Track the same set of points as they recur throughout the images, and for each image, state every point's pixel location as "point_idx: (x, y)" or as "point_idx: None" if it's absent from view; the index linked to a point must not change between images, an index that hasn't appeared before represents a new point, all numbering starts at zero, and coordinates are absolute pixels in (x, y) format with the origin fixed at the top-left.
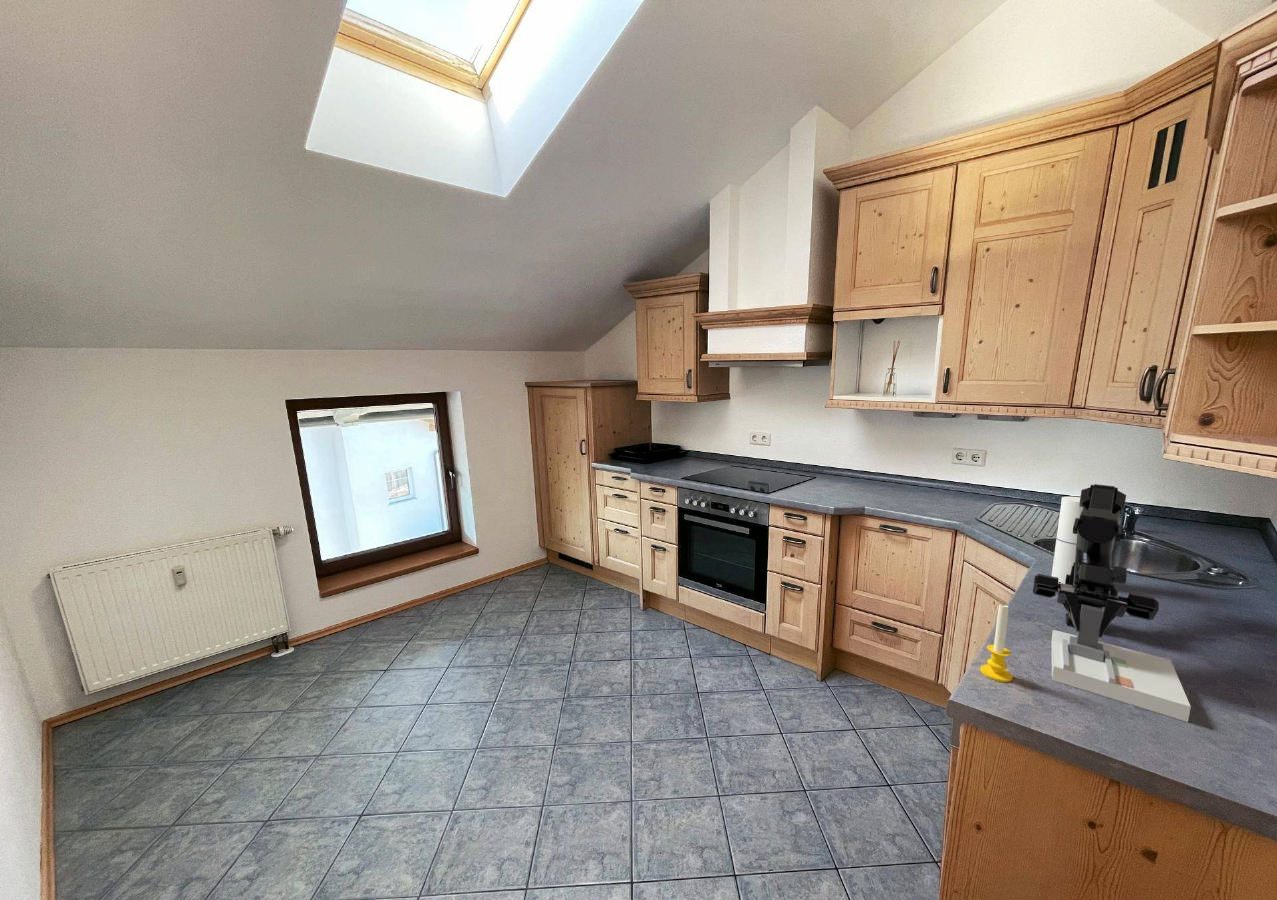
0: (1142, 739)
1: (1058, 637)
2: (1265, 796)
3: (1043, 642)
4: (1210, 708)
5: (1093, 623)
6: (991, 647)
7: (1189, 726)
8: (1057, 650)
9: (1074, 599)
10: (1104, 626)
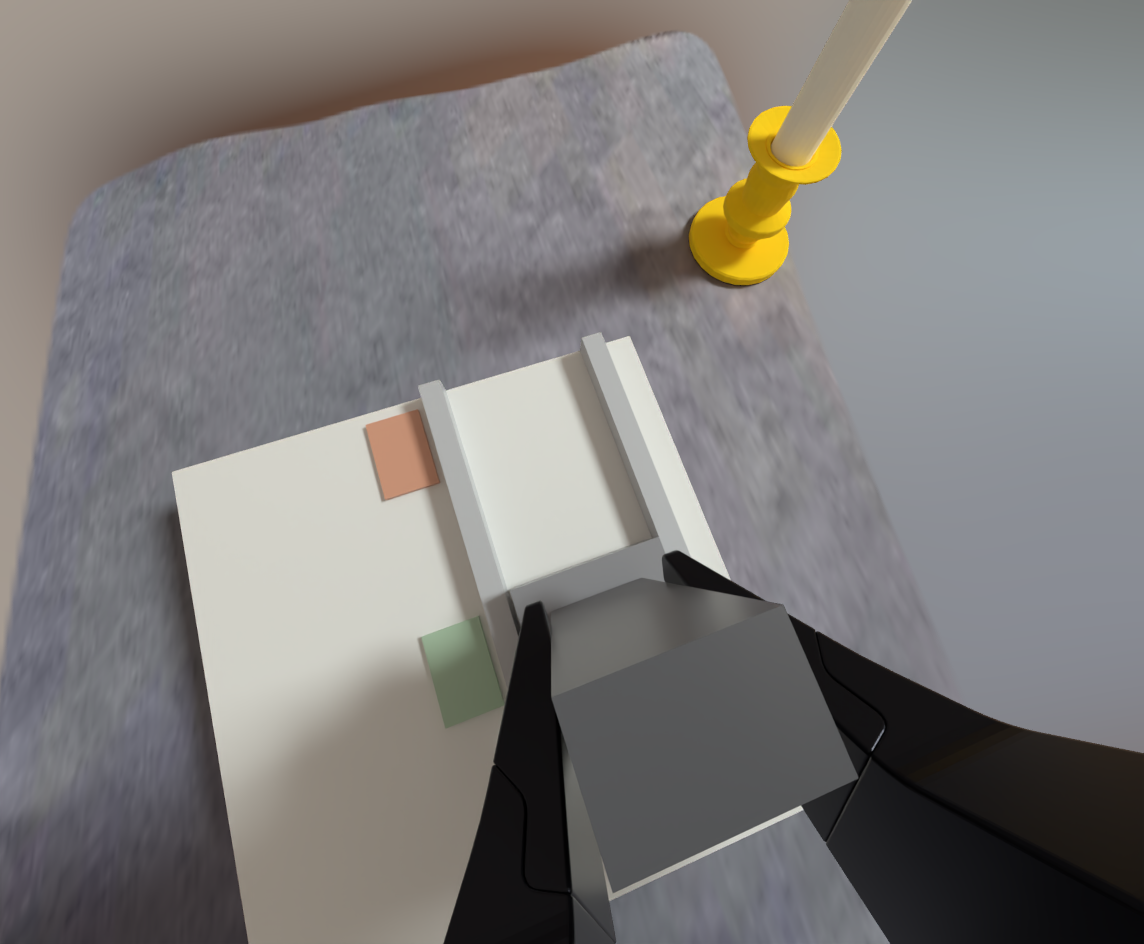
0: (333, 246)
1: None
2: (70, 236)
3: None
4: (167, 707)
5: (605, 628)
6: (823, 148)
7: None
8: (686, 514)
9: (1010, 794)
10: (525, 676)
